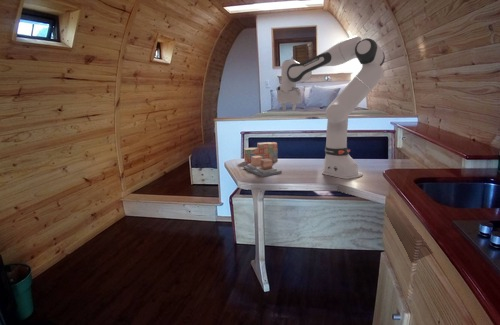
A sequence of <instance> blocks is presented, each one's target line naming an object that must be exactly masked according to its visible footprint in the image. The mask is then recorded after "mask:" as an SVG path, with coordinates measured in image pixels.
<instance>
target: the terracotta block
mask: <svg viewBox="0 0 500 325" xmlns="http://www.w3.org/2000/svg"><path fill="white" fill-rule="evenodd" d="M272 167H273V162H272V160H270V159H262V160H260V169H262V170H269V169H272Z"/></svg>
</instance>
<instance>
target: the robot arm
mask: <svg viewBox="0 0 500 325" xmlns="http://www.w3.org/2000/svg"><path fill="white" fill-rule="evenodd" d="M353 59H357V60H358V62H359V63H360V65H362V67H361V69H360V71H359V72H358V73H357V74H356V75H355V76H354V77H353V78H352V79H351V80H350V82H349V83H348V84H347V85H346V86H345V87H344V88H343V90H341V92H340V93H339V94H338V95H337V96H336V97H335V98H334V99H333V100H332V102H330V104H329V105H327V107H326V109H325V117H326V119H327V124H326V131H325V132H326V134H325V136H326V137H325V138H326V140H325V141H326V142H325V146H324V147H325V148H324V153H325V157H324V161H323V167H322V172H321V174H323V175H326V176H330V177H335V178H339V179H343V180H345V179H348V180H349V179H357V178H360V177H362V176H363V175H364V174H363V172H360V171H359V164H358V163H357V162H356V161H355V159H353V157H351V155H350V152H351V150H350V149H349V148H348V142H347V141H348V125H349V115H350V114H352V112H353V111H355V109H356V108H357V107H358V105H359V104H360V103H362V101H363V100H364V99H365V98H367V96H368V95H369V94H370V93H371V92H372V90H374V88H375V87H376V86H377V85H378V83H379V82H380V81H381V79H382V78H383V76H384V75H385V74H384V72H385V71H384V69H383V67H382V66H383V65H384V62H385V60H386V56H385V53H384V51H383V49H382V47H381V46H380V45H379V44H378V43H377V42H376V40H374V39H373V38H368V37H366V38H362V37H360V36H359V35H354V36H352V37H349V38H346V39H344V40H342V41H340V42H338V43H336V44H334V45H333V46H331V47H329V48H328V49H326V50H324V51H323V52H321V53H320V54H318V55H316V56H314V57H312V58H310V59H307V60H304V61H303V62H298V61H296V59H293V58H290V59H286V60H284V61H283V62H282V64H281V69H280V70H281V71H280V72H281V84H280V85H279V86H277V87H276V91H277V92H276V98H277V99H276V100H277V103H280V104H281V107H282V110H283V111H286V110H287V107H286V104H287V103H288V104H292V107H291V111H292V112H294V111H296V107H297V105H298V104H301V103H302V95H301V90H300V89H299V87H297V83H299V82H306V81H308V80H310V79H311V78H312V73H313V71H315V70H317V69H319V68H323V67H336V66H340V65H342V64H345V63H347V62H350V61H351V60H353Z"/></svg>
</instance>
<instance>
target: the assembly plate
mask: <svg viewBox="0 0 500 325" xmlns="http://www.w3.org/2000/svg"><path fill="white" fill-rule="evenodd" d="M262 159H263V157H261V156H252V157H251V163H246V164H247V165H244V166H243V168H244V170H245V169H246V171H248V172H250V173H252V174H254V175H257V176H259V177H262V178H264V177H268V176H274V175H279V174H282V169H281V170H280V168H279V169H278V168H277V167H274V166H272V169H269V170H262V169H260V160H262Z"/></svg>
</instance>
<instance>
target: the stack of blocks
mask: <svg viewBox="0 0 500 325" xmlns="http://www.w3.org/2000/svg"><path fill="white" fill-rule="evenodd" d="M256 146H257V147H244V148H243V152H244V153H243V154H244V155H243V157H244V162H245V164H251V157H252V156H261V157H263V159H270V160H272V163H274V162H279V161H278V160H279V159H278V157H279V155H278V154H279V150H278V149H279V148H278V143H277V142H275V141H272V142H271V141H270V142H269V141H267V142H257V145H256Z"/></svg>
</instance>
